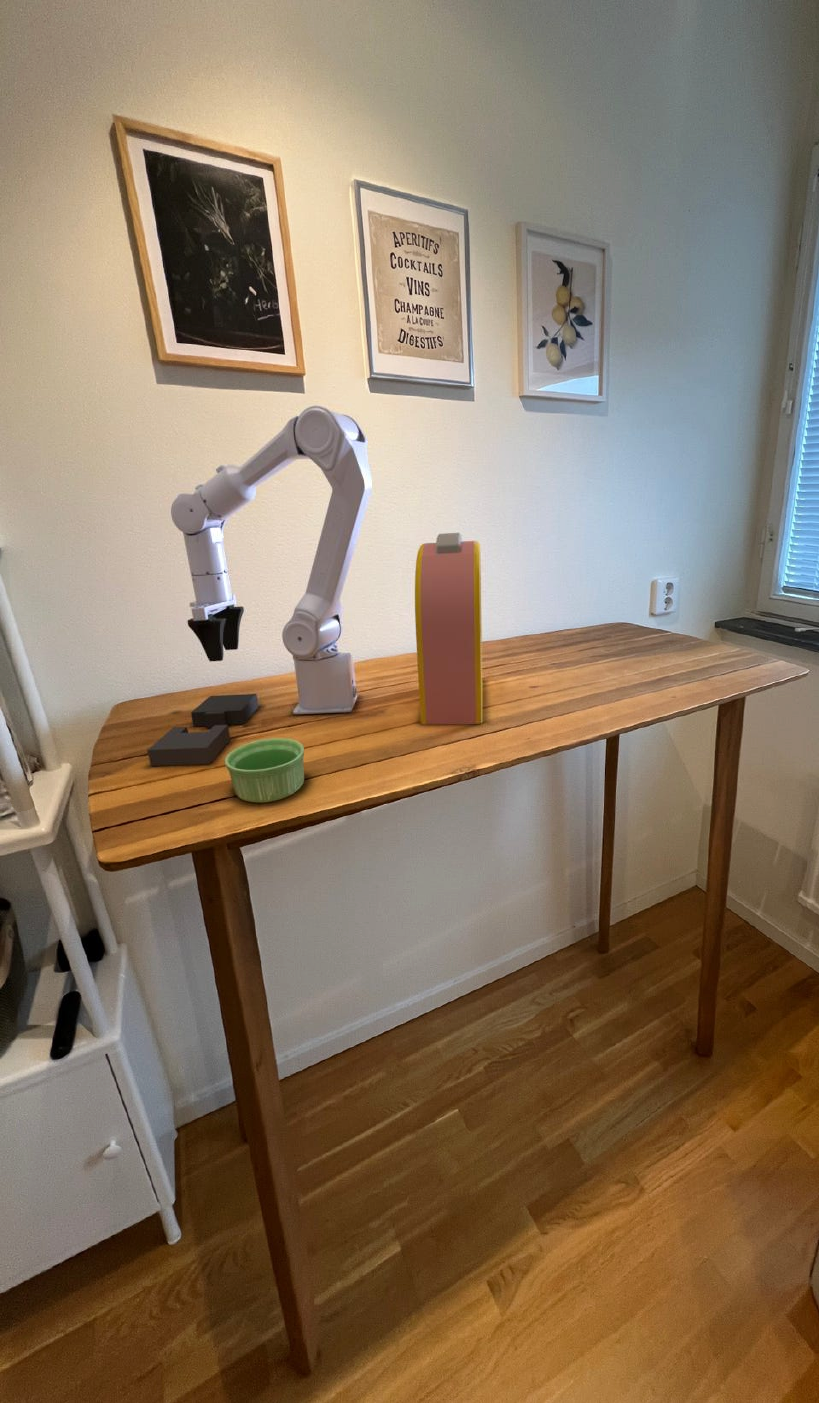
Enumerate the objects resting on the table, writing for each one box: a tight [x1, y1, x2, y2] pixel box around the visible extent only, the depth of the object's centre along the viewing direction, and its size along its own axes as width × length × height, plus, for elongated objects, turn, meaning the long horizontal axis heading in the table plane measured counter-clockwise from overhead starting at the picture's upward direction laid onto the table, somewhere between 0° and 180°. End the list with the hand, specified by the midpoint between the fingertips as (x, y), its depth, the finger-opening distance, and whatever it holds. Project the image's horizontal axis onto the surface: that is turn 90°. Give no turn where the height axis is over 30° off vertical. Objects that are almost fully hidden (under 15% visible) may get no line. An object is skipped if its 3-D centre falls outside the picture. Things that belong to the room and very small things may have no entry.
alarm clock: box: [414, 532, 483, 725], centre depth 86 cm, size 21×9×26 cm, turn 173°
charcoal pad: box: [146, 725, 231, 767], centre depth 76 cm, size 8×8×2 cm
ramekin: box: [224, 737, 305, 803], centre depth 64 cm, size 9×9×4 cm
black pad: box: [190, 693, 259, 729], centre depth 88 cm, size 8×9×2 cm
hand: (224, 654), depth 93 cm, fingers open, 7 cm apart
